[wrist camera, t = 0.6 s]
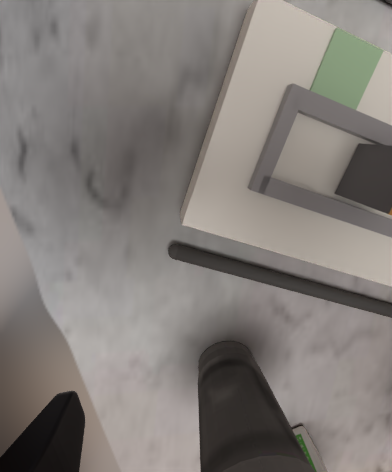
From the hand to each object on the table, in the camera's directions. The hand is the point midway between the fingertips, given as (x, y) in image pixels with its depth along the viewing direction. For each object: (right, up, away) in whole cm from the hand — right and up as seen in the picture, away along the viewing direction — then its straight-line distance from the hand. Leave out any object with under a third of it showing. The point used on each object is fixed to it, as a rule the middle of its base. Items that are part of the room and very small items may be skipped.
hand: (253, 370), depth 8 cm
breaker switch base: (+8, +8, +12) cm, 17 cm away
